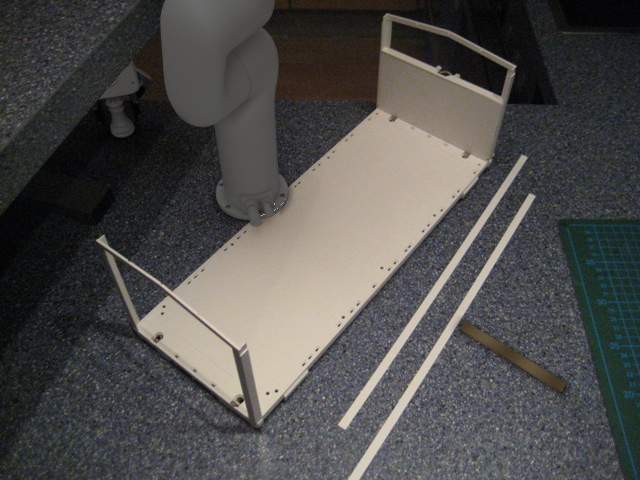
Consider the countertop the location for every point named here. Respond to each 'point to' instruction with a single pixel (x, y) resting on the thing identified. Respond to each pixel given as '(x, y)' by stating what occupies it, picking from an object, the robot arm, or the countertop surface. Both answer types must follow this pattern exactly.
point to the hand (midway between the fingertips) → (120, 118)
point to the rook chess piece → (119, 118)
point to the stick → (513, 357)
